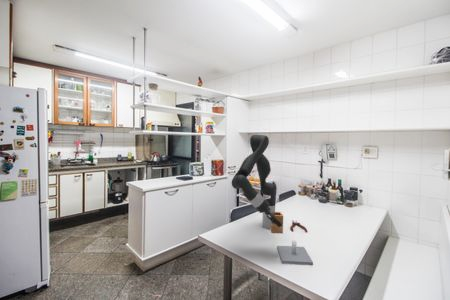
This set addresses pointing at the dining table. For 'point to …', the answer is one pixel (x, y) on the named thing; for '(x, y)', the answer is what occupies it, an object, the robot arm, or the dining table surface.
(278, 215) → the collar
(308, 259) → the post base
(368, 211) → the dining table surface
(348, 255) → the dining table surface
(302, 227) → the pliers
